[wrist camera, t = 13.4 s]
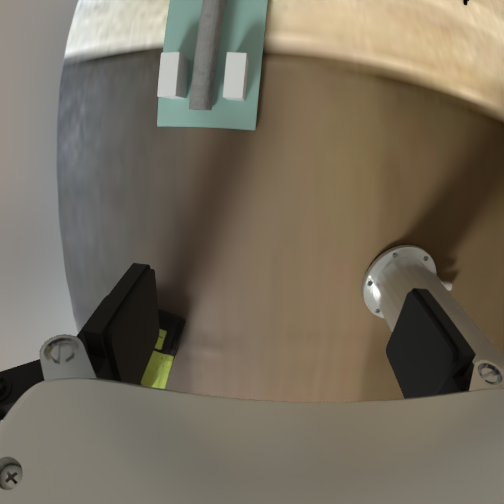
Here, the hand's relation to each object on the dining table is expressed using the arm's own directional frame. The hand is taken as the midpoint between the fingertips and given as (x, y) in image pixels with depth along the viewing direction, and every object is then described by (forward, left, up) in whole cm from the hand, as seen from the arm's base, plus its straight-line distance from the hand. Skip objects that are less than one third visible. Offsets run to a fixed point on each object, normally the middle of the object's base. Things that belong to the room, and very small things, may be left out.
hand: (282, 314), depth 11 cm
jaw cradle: (+8, -20, -30) cm, 37 cm away
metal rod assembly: (+8, -20, -29) cm, 36 cm away
